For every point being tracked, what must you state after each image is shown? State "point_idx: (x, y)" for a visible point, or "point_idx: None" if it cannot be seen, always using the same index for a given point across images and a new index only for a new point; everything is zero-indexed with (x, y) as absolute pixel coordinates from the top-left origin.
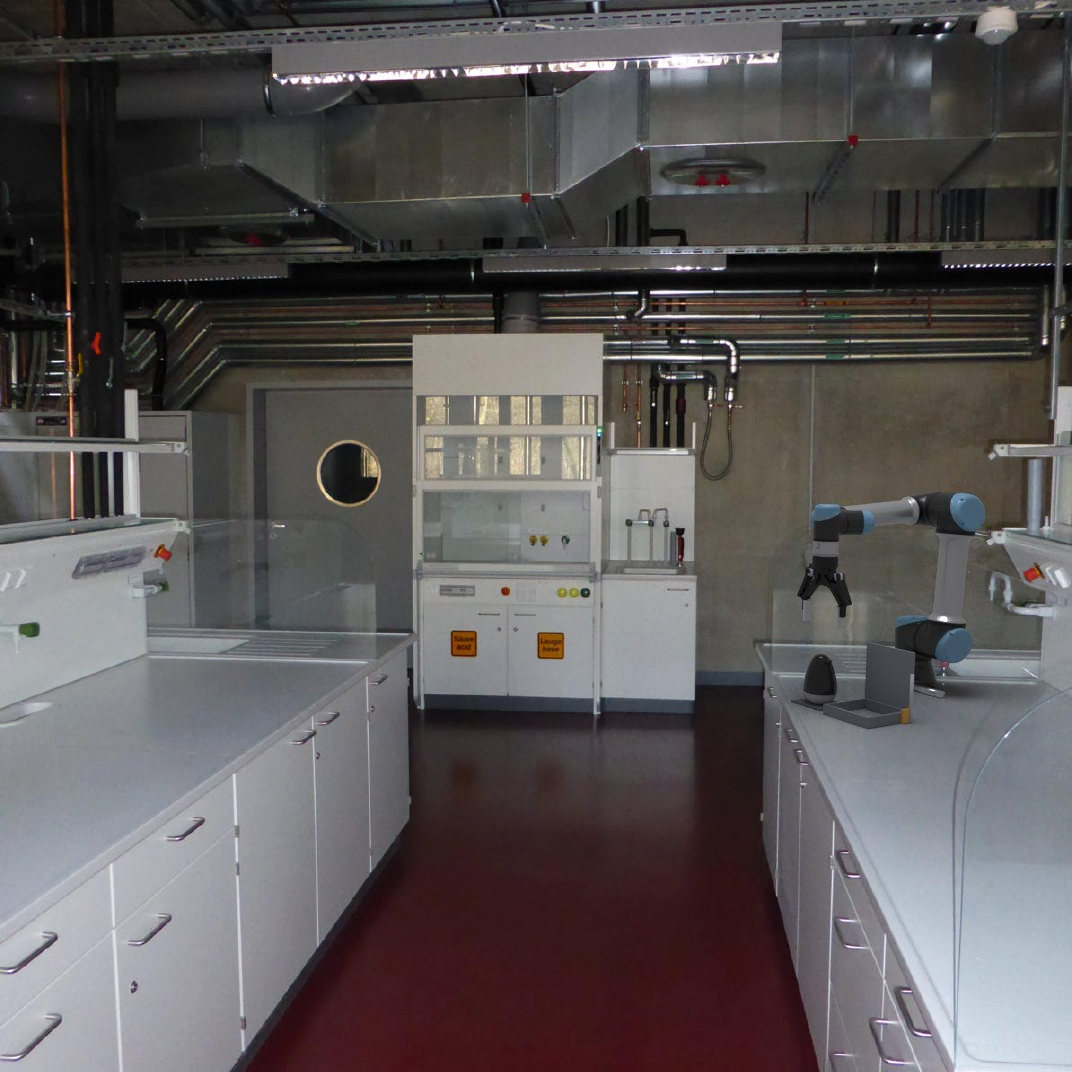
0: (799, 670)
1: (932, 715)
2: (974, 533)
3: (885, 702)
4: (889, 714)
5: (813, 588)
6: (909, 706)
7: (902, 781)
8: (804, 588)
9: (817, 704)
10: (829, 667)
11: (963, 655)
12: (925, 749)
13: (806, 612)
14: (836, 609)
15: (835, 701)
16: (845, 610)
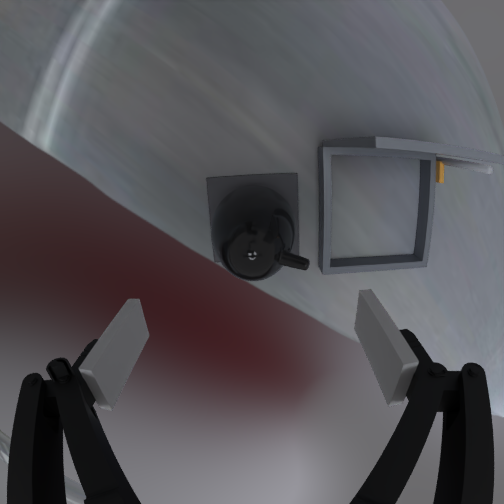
0: (29, 86)
1: (412, 78)
2: None
3: (382, 149)
4: (432, 211)
5: (124, 479)
6: (446, 164)
7: (500, 348)
8: (54, 448)
9: None
10: (289, 246)
11: None
12: (494, 258)
13: (132, 353)
14: (385, 394)
15: (260, 178)
16: (425, 357)
